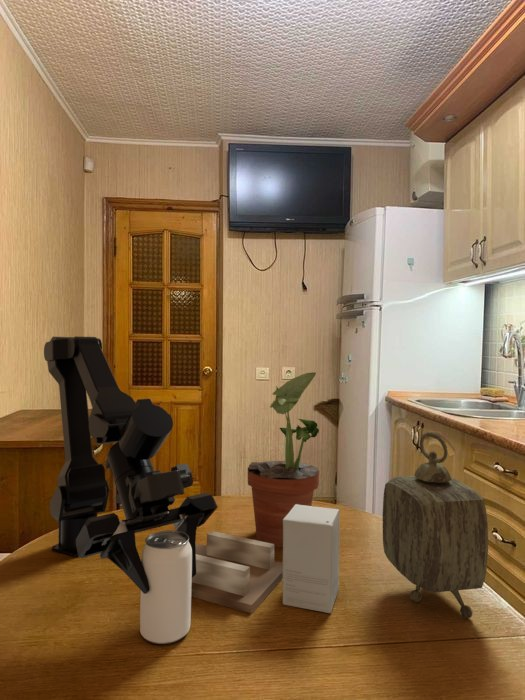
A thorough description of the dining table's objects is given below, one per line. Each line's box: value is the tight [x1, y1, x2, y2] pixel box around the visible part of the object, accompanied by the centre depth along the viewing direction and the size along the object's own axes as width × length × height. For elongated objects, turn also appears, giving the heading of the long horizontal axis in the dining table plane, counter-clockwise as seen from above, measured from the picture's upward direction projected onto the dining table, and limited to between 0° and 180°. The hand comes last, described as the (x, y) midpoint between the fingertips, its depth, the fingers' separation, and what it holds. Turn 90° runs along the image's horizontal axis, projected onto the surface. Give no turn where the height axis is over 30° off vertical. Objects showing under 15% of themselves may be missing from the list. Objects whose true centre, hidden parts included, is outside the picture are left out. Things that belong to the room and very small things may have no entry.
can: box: [139, 529, 192, 645], centre depth 62 cm, size 6×6×12 cm
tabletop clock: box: [382, 431, 489, 619], centre depth 71 cm, size 14×9×25 cm, turn 12°
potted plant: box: [247, 372, 320, 547], centre depth 95 cm, size 16×15×35 cm
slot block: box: [191, 530, 283, 615], centre depth 77 cm, size 18×14×5 cm
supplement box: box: [282, 504, 340, 614], centre depth 71 cm, size 7×7×13 cm
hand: (171, 583), depth 61 cm, fingers closed on can, 6 cm apart
